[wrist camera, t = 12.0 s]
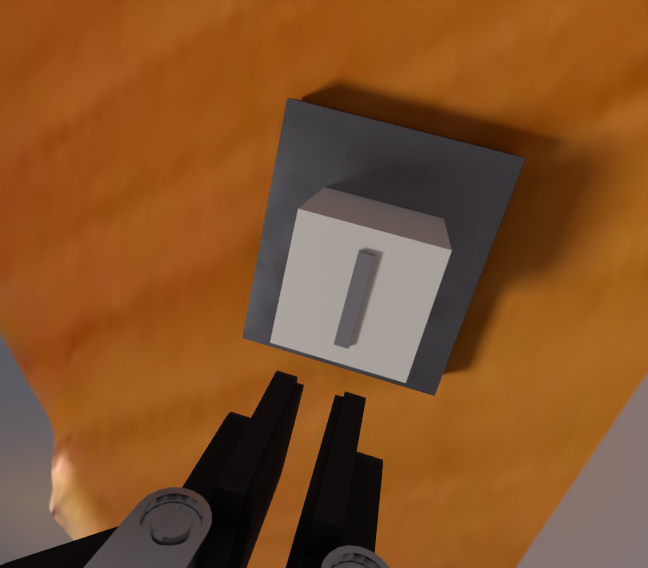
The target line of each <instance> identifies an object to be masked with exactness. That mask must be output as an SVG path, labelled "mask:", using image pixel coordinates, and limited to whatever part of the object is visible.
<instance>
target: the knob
mask: <svg viewBox="0 0 648 568" xmlns="http://www.w3.org/2000/svg"><path fill="white" fill-rule="evenodd" d="M451 251H452V249H451V245H450V241H449V237H448V233H447V229H446V225H445V221H444V219H443V218H439V217H436V216H432V215H428V214H424V213H420V212H417V211H413V210H409V209H405V208H402V207H398V206H394V205H390V204H387V203H383V202H379V201H375V200H371V199H368V198H364V197H360V196H356V195H353V194H349V193H345V192H341V191H338V190H334V189H330V188H326V187H324V188H323V189H321V190H320V191H319V192H318V193H317V194H315V195H314V196H313V197H312V198H310V199H309V200H308V201H307V202H306V203H304V204H303V205H302V206H301V207H299V208H298V211H297V216H296V221H295V226H294V230H293V235H292V240H291V245H290V250H289V254H288V259H287V264H286V269H285V273H284V278H283V283H282V288H281V292H280V297H279V302H278V307H277V312H276V316H275V321H274V326H273V331H272V335H271V340H270V343H273V344H276V345H280V346H283V347H286V348H290V349H293V350H297V351H300V352H303V353H307V354H310V355H313V356H317V357H320V358H323V359H327V360H330V361H333V362H337V363H340V364H343V365H347V366H350V367H353V368H357V369H360V370H364V371H367V372H370V373H374V374H377V375H380V376H384V377H387V378H390V379H394V380H397V381H400V382H404V383H406V381H407V378H408V375H409V372H410V369H411V366H412V364H413V361H414V358H415V355H416V352H417V349H418V346H419V343H420V340H421V338H422V335H423V332H424V329H425V326H426V323H427V320H428V317H429V315H430V312H431V309H432V306H433V303H434V300H435V297H436V294H437V292H438V289H439V286H440V283H441V280H442V277H443V274H444V271H445V268H446V266H447V263H448V260H449V257H450V254H451Z"/></svg>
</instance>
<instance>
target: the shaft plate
mask: <svg viewBox="0 0 648 568" xmlns="http://www.w3.org/2000/svg"><path fill="white" fill-rule="evenodd" d="M524 161H525V158H524V157H521V156H519V155H516V154H512V153H508V152H504V151H500V150H496V149H492V148H488V147H484V146H480V145H477V144H473V143H469V142H465V141H461V140H457V139H453V138H449V137H445V136H441V135H437V134H433V133H429V132H425V131H421V130H417V129H413V128H409V127H405V126H401V125H397V124H393V123H389V122H385V121H382V120H378V119H374V118H370V117H366V116H362V115H358V114H354V113H350V112H346V111H342V110H338V109H334V108H330V107H326V106H322V105H318V104H314V103H310V102H306V101H302V100H298V99H291V98H287V103H286V108H285V113H284V119H283V124H282V129H281V135H280V140H279V145H278V151H277V156H276V161H275V167H274V172H273V177H272V183H271V188H270V193H269V199H268V204H267V210H266V215H265V220H264V226H263V231H262V236H261V242H260V247H259V252H258V258H257V263H256V268H255V274H254V279H253V284H252V290H251V295H250V300H249V306H248V311H247V316H246V322H245V327H244V333H243V338H245V339H248V340H251V341H255V342H258V343H261V344H265V345H268V346H271V347H275V348H278V349H281V350H284V351H288V352H291V353H294V354H298V355H301V356H304V357H308V358H311V359H314V360H318V361H321V362H324V363H327V364H331V365H334V366H337V367H341V368H344V369H347V370H351V371H354V372H357V373H361V374H364V375H367V376H371V377H374V378H377V379H380V380H384V381H387V382H390V383H394V384H397V385H400V386H404V387H407V388H410V389H414V390H417V391H420V392H423V393H427V394H430V395H433V396H435V393H436V391H437V388H438V385H439V383H440V380H441V377H442V375H443V372H444V370H445V367H446V364H447V362H448V359H449V357H450V354H451V351H452V349H453V346H454V344H455V341H456V338H457V336H458V333H459V331H460V328H461V325H462V323H463V320H464V317H465V315H466V312H467V310H468V307H469V304H470V302H471V299H472V297H473V294H474V291H475V289H476V286H477V284H478V281H479V278H480V276H481V273H482V270H483V268H484V265H485V263H486V260H487V257H488V255H489V252H490V250H491V247H492V244H493V242H494V239H495V237H496V234H497V231H498V229H499V226H500V224H501V221H502V218H503V216H504V213H505V210H506V208H507V205H508V203H509V200H510V197H511V195H512V192H513V190H514V187H515V184H516V182H517V179H518V177H519V174H520V171H521V169H522V166H523V163H524ZM324 187H326V188H330V189H334V190H338V191H341V192H345V193H349V194H353V195H356V196H360V197H364V198H368V199H371V200H375V201H379V202H383V203H387V204H390V205H394V206H398V207H402V208H405V209H409V210H413V211H417V212H420V213H424V214H428V215H432V216H436V217H439V218H443V219H444V221H445V225H446V229H447V233H448V237H449V241H450V245H451V249H452V251H451V254H450V257H449V260H448V263H447V266H446V268H445V271H444V274H443V277H442V280H441V283H440V286H439V289H438V292H437V294H436V297H435V300H434V303H433V306H432V309H431V312H430V315H429V317H428V320H427V323H426V326H425V329H424V332H423V335H422V338H421V340H420V343H419V346H418V349H417V352H416V355H415V358H414V361H413V364H412V366H411V369H410V372H409V375H408V378H407V381H406V383H404V382H400V381H397V380H394V379H390V378H387V377H384V376H380V375H377V374H374V373H370V372H367V371H364V370H360V369H357V368H353V367H350V366H347V365H343V364H340V363H337V362H333V361H330V360H327V359H323V358H320V357H317V356H313V355H310V354H307V353H303V352H300V351H297V350H293V349H290V348H286V347H283V346H280V345H276V344H273V343H270V340H271V335H272V331H273V326H274V321H275V316H276V312H277V307H278V302H279V297H280V292H281V288H282V283H283V278H284V273H285V269H286V264H287V259H288V254H289V250H290V245H291V240H292V235H293V230H294V226H295V221H296V216H297V211H298V208H299V207H301V206H302V205H303V204H304V203H306V202H307V201H308V200H309V199H310V198H312V197H313V196H314V195H315V194H317V193H318V192H319V191H320V190H321V189H323V188H324Z"/></svg>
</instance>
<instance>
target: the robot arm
mask: <svg viewBox="0 0 648 568" xmlns="http://www.w3.org/2000/svg"><path fill="white" fill-rule="evenodd" d="M303 387H304V385H303V384H299V383H297V377H296V376H293V375H290V374H286V373H283V372H280V371H276V373H275V375H274V377H273V378H272V380H271V382H270V384H269V386H268V388H267V389H266V391H265V393H264V395H263V397H262V399H261V401H260V402H259V404H258V406H257V408H256V410H255V412H254V414H253V415H252V417H251V418H249V417H246V416H243V415H240V414H237V413H234V412H230V413H229V414H228V415H227V417H226V418H225V420H224V421H223V423H222V425H221V426H220V428H219V429H218V431H217V433H216V434H215V436H214V437H213V439H212V441H211V442H210V444H209V445H208V447H207V449H206V450H205V452H204V453H203V455H202V457H201V458H200V460H199V461H198V463H197V465H196V466H195V468H194V469H193V471H192V473H191V474H190V476H189V477H188V479H187V481H186V482H185V484H184V485H183V487H182V488H180V487H169V488H165V489H160V490H157V491H155V492H153V493H151V494H149V495H147V496H146V497H145V498H144V499H143V500H142V501H141V502H139V503H138V505H137V506H136V507H135V508H134V509H133V510H132V512H131V513H130V514H129V515H128V516H127V517H126V519H125V520H124V521H123V522H122V523H121V524H120V526H118V527H115V528H112V529H108V530H105V531H102V532H99V533H96V534H93V535H90V536H87V537H84V538H81V539H78V540H75V541H72V542H69V543H66V544H63V545H59V546H56V547H53V548H51V549H47V550H44V551H41V552H38V553H35V554H32V555H29V556H26V557H23V558H20V559H17V560H13V561H11V562H7V563H5V564H2V565H0V568H246V567H247V565H248V562H249V559H250V557H251V554H252V551H253V549H254V546H255V543H256V541H257V538H258V535H259V533H260V530H261V527H262V525H263V522H264V519H265V517H266V514H267V511H268V509H269V506H270V503H271V500H272V498H273V495H274V492H275V490H276V487H277V484H278V482H279V479H280V476H281V473H282V470H283V466H284V462H285V458H286V454H287V450H288V446H289V443H290V439H291V435H292V431H293V427H294V423H295V419H296V415H297V411H298V407H299V403H300V399H301V395H302V391H303ZM365 401H366V398H365V397H362V396H358V395H355V394H352V393H348V392H345V393H344V397H342V396H338V395H335V398H334V401H333V405H332V408H331V412H330V415H329V419H328V422H327V426H326V429H325V433H324V436H323V440H322V443H321V447H320V450H319V454H318V457H317V461H316V464H315V468H314V471H313V474H312V478H311V481H310V485H309V488H308V492H307V495H306V499H305V502H304V506H303V509H302V513H301V516H300V520H299V523H298V527H297V530H296V534H295V537H294V541H293V544H292V548H291V551H290V555H289V558H288V562H287V565H286V568H389V567H388V565H387V564H386V563H385V562H384V561H383V560H382V558H380V557H379V556H377V555H376V554H375V542H376V532H377V521H378V511H379V501H380V490H381V480H382V469H383V460H382V459H379V458H375V457H372V456H369V455H366V454H363V453H360V452H357V446H358V440H359V435H360V429H361V423H362V418H363V412H364V406H365Z"/></svg>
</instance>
